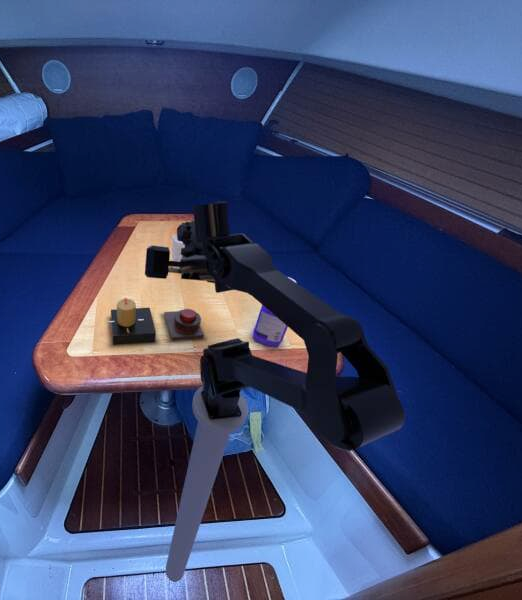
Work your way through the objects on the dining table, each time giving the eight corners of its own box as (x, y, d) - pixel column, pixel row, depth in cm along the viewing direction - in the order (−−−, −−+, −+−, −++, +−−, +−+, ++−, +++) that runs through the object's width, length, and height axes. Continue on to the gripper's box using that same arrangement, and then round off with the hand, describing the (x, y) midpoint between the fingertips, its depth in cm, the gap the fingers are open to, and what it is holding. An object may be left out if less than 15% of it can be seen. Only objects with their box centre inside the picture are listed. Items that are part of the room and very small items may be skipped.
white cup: (165, 265, 108) (167, 238, 102) (180, 258, 112) (183, 231, 107) (183, 274, 103) (186, 246, 98) (198, 266, 108) (202, 239, 103)
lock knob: (136, 326, 76) (136, 308, 73) (117, 327, 76) (117, 309, 72) (134, 314, 80) (134, 297, 77) (116, 315, 79) (116, 298, 76)
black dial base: (155, 342, 77) (155, 332, 75) (109, 345, 75) (109, 335, 73) (149, 316, 85) (149, 306, 83) (107, 318, 83) (107, 309, 81)
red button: (196, 322, 80) (197, 317, 79) (182, 323, 79) (183, 317, 78) (192, 313, 82) (193, 308, 81) (179, 314, 82) (179, 309, 81)
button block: (204, 338, 79) (205, 329, 77) (171, 341, 77) (172, 331, 76) (193, 313, 87) (195, 304, 85) (164, 315, 85) (164, 306, 84)
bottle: (283, 337, 81) (305, 279, 71) (280, 351, 77) (303, 291, 67) (254, 328, 83) (272, 270, 73) (249, 341, 79) (267, 281, 69)
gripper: (254, 227, 61) (213, 236, 76) (164, 212, 55) (138, 225, 69) (248, 285, 62) (209, 283, 77) (159, 277, 55) (134, 276, 70)
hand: (174, 266), depth 73 cm, fingers open, 9 cm apart
